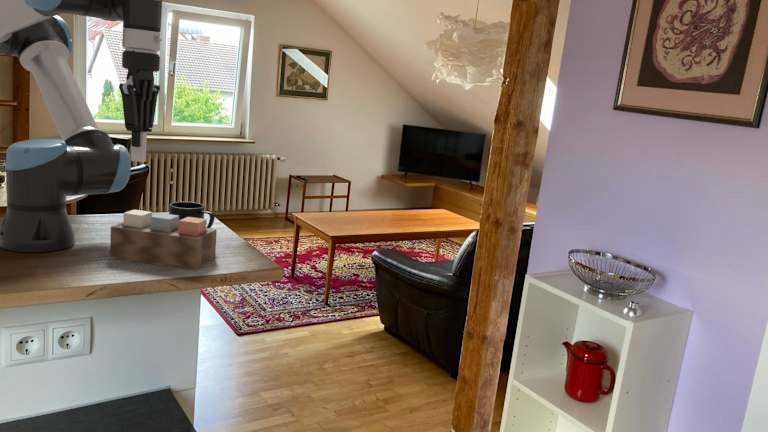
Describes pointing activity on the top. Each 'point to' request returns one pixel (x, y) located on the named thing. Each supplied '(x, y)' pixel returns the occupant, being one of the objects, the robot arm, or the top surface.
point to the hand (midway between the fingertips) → (138, 161)
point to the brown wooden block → (162, 246)
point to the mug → (190, 211)
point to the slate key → (165, 222)
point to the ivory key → (137, 218)
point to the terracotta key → (192, 226)
